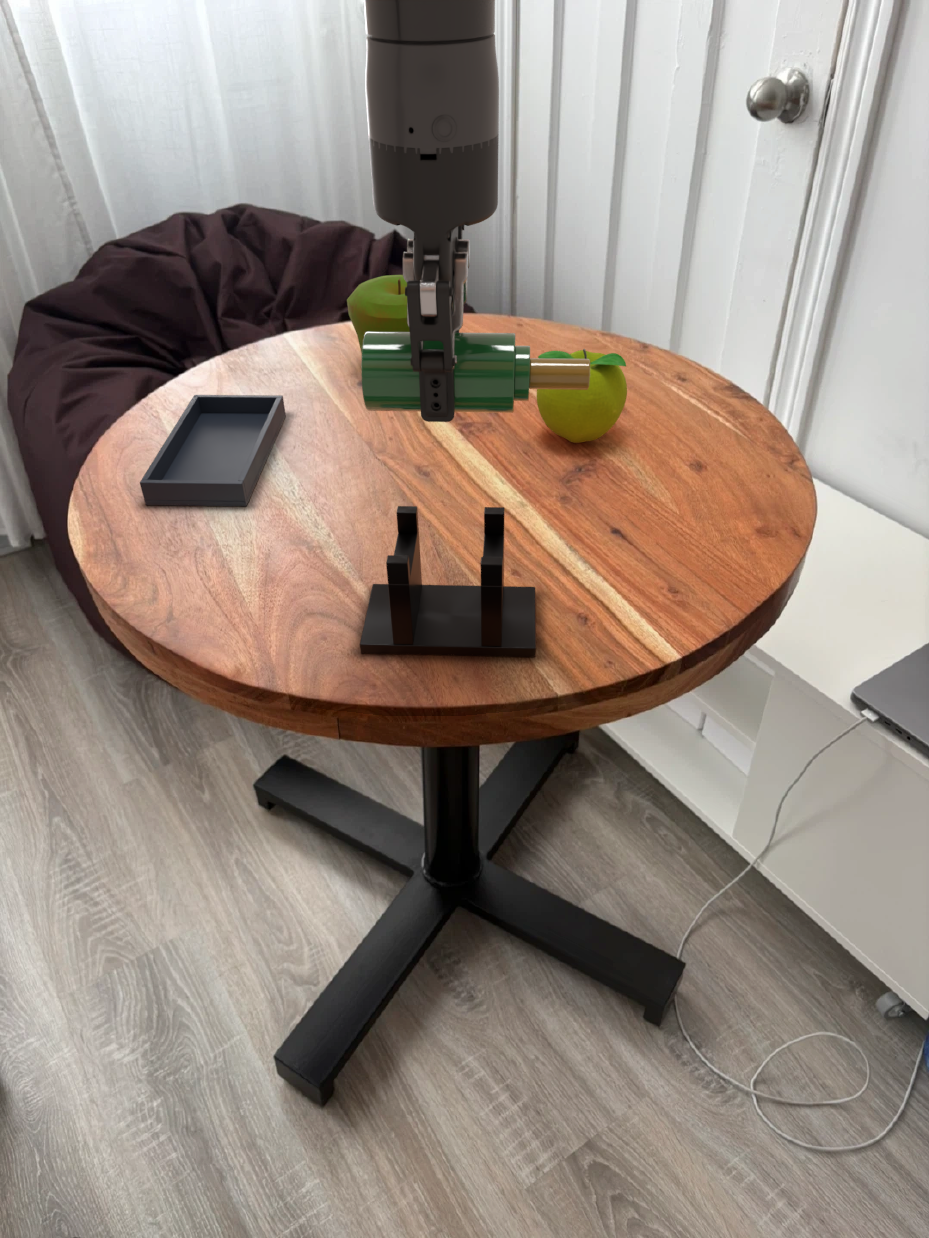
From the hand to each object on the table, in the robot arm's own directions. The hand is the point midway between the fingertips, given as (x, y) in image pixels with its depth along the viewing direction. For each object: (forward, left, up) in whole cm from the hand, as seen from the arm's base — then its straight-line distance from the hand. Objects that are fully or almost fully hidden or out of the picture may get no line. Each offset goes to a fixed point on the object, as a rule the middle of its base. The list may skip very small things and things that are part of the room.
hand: (441, 398), depth 64 cm
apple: (-9, +50, -20) cm, 54 cm away
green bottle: (+3, 0, -1) cm, 3 cm away
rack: (0, 0, -20) cm, 20 cm away
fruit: (+12, +33, -21) cm, 40 cm away
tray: (-26, +27, -20) cm, 43 cm away
